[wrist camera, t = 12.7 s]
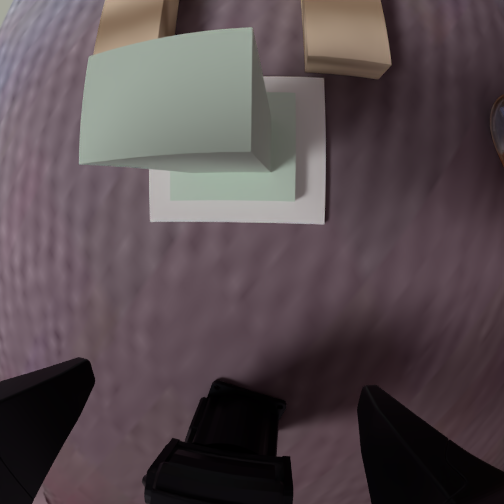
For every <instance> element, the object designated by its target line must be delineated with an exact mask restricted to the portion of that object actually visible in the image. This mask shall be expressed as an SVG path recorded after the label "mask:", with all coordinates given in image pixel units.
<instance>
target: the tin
mask: <svg viewBox="0 0 504 504" xmlns="http://www.w3.org/2000/svg"><path fill="white" fill-rule="evenodd" d="M490 130H491V136H492V140H493V143H494V146H495V148H496V151H497V153H498V155H499V158H500V160H501V162H502V164H503V167H504V94H503V95H501V96H500V97H499V98H498V99H497V100H496V101H495V103H494V104H493V106H492V109H491V113H490Z"/></svg>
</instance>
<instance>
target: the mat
mask: <svg viewBox="0 0 504 504" xmlns="http://www.w3.org/2000/svg"><path fill="white" fill-rule="evenodd" d="M263 78H264V83H265V88H266V92H290V93H295V98H296V172H295V202H290V201H244V200H187V201H170V171H166V170H155V169H149V199H150V222H258V223H299V224H324V219H325V183H326V126H325V92H324V78H314V77H286V76H263Z"/></svg>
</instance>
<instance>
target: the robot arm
mask: <svg viewBox="0 0 504 504" xmlns="http://www.w3.org/2000/svg"><path fill="white" fill-rule="evenodd" d="M94 384H95V377H94V374H93V370H92V367H91V363H90V361H89V360H88V359H84V358H80V357H78V358H75V359H72V360H69V361H65V362H62V363H59V364H56V365H53V366H50V367H47V368H43V369H40V370H37V371H34V372H30V373H27V374H24V375H20V376H17V377H14V378H10V379H7V380H3V381H1V382H0V504H32V503H33V501H34V498H35V496H36V494H37V492H38V490H39V488H40V487H41V485H42V483H43V481H44V479H45V477H46V475H47V473H48V472H49V470H50V468H51V466H52V464H53V462H54V460H55V459H56V457H57V455H58V453H59V451H60V450H61V448H62V446H63V444H64V443H65V441H66V439H67V437H68V436H69V434H70V432H71V430H72V429H73V427H74V425H75V424H76V422H77V420H78V418H79V417H80V415H81V413H82V410H83V408H84V406H85V404H86V402H87V399H88V397H89V395H90V393H91V391H92V389H93V387H94ZM216 385H217V386H219V387H216ZM278 405H282V406H278ZM285 409H286V402H285V401H283V400H280V399H276V398H273V397H269V396H266V395H262V394H259V393H256V392H252V391H249V390H246V389H243V388H240V387H237V386H233V385H230V384H227V383H225V382H222V381H218V380H216V381H214V382H213V383H212V385H211V388H210V391H209V394H208V397H207V398H205V397H203V398H201V399H200V402H199V404H198V407H197V410H196V412H195V415H194V417H193V420H192V422H191V425H190V427H189V430H188V433H187V436H186V439H185V442H182V441H180V440H179V439H175V438H172V439H171V441H170V442H169V443H168V444H167V445H166V446H165V448H164V449H163V450H162V452H161V453H160V454H159V456H158V457H157V458H156V460H155V461H154V462H153V464H152V465H151V466H150V468H149V469H148V471H147V474H146V475H145V476H144V477H143V479H142V483H143V485H144V487H145V493H144V497H145V503H146V504H293V481H292V471H291V461H290V456H282V457H276V455H277V439H278V421H279V419H280V418H281V416H282V414H283V413H284V411H285ZM357 414H358V424H359V434H360V446H361V454H362V459H363V463H364V468H365V473H366V478H367V483H368V488H369V493H370V498H371V503H372V504H504V472H503V471H501V470H499V469H497V468H495V467H494V466H492V465H490V464H488V463H486V462H484V461H482V460H481V459H479V458H477V457H475V456H474V455H472V454H470V453H469V452H467V451H466V450H464V449H463V448H461V447H460V446H458V445H457V444H455V443H454V442H453V441H451V440H448V438H447V437H446V436H444V435H443V434H441V433H440V432H439V431H437V430H436V429H435V428H433V427H432V426H431V425H429V424H428V423H426V422H425V421H424V420H422V419H421V418H420V417H418V416H417V415H416V414H414V413H413V412H412V411H410V410H409V409H408V408H406V407H405V406H404V405H402V404H401V403H400V402H398V401H397V400H396V399H394V398H393V397H392V396H390V395H389V394H388V393H386V392H385V391H384V390H382V389H381V388H380V387H379V386H377V385H366V386H364V387H363V388H362V391H361V395H360V399H359V403H358V407H357Z"/></svg>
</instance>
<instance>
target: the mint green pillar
mask: <svg viewBox="0 0 504 504" xmlns="http://www.w3.org/2000/svg"><path fill="white" fill-rule="evenodd" d="M79 164H82V165H101V166H117V167H131V168H144V169H155V170H166V171H170V201H187V200H244V201H290V202H295V172H296V98H295V93H290V92H266V88H265V83H264V78H263V73H262V69H261V64H260V59H259V55H258V50H257V45H256V41H255V36H254V32H253V28H252V27H251V28H233V29H220V30H210V31H202V32H194V33H187V34H180V35H174V36H168V37H163V38H158V39H153V40H148V41H144V42H139V43H135V44H131V45H127V46H123V47H119V48H116V49H112V50H109V51H105V52H102V53H99V54H95V55H92V56H89V59H88V65H87V72H86V78H85V86H84V94H83V103H82V114H81V127H80V145H79Z"/></svg>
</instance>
